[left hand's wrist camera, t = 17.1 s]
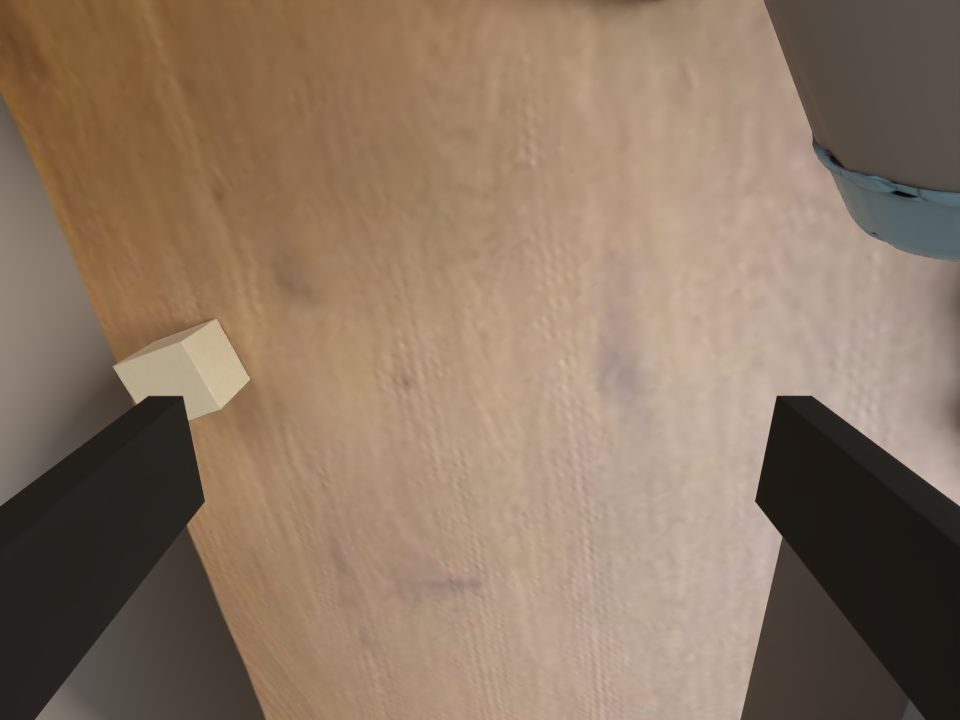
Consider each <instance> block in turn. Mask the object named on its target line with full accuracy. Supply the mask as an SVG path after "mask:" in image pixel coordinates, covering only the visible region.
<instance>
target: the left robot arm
mask: <svg viewBox="0 0 960 720" xmlns="http://www.w3.org/2000/svg"><path fill="white" fill-rule="evenodd" d="M764 3H765V5H766V8H767V10H768V13H769V15H770V18H771V21H772V24H773V26H774V29H775V32H776V34H777V37H778V40H779V43H780V45H781V48H782V51H783V53H784V56H785V59H786V62H787V64H788V67H789V70H790V72H791V75H792V78H793V81H794V83H795V86H796V89H797V91H798V94H799V97H800V100H801V102H802V105H803V108H804V110H805V113H806V116H807V119H808V121H809V124H810V127H811V129H812V135H813V148H814V151H815V153H816V155H817V157H818V159H819V160H820V161H821V162H822V164H823V165H824V166H825V167H826V168H828V169H829V170H830V172H831V174H832V176H833V178H834V180H835V183H836V185H837V187H838V189H839V191H840V194H841V196H842V198H843V200H844V203H845V205H846V207H847V209H848V211H849V213H850V215H851V217H852V218H853V219H854V221H855V222H856V223H857V224H858V225H859V226H860V228H862V229H863V230H864V231H865V232H866V233H868V234H869V235H870V236H872V237H874V238H877V239H879V240H882V241H884V242H888V243H889V244H891V245H893V246H894V247H895V248H896V249H899V250H902V251H904V252H908V253H911V254H915V255H919V256H924V257H930V258H935V259H941V260H949V261H959V262H960V0H764ZM204 502H205V500H204V495H203V490H202V485H201V480H200V476H199V471H198V466H197V461H196V456H195V451H194V446H193V442H192V437H191V432H190V427H189V422H188V417H187V412H186V408H185V403H184V398H183V396H148V397H146V398H145V399H144V400H142V401H141V402H139V403H138V404H137V405H135V406H134V407H133V408H132V409H130V410H129V411H127V412H126V413H125V414H123V415H122V416H121V417H119V418H118V419H117V420H115V421H114V422H113V423H111V424H110V425H109V426H107V427H106V428H105V429H103V430H102V431H101V432H99V433H98V434H97V435H95V436H94V437H93V438H91V439H90V440H89V441H87V442H86V443H85V444H83V445H82V446H81V447H79V448H78V449H77V450H75V451H74V452H73V453H71V454H70V455H68V456H67V457H66V458H65V459H63V460H62V461H60V462H59V463H58V464H57V465H55V466H54V467H52V468H51V469H50V470H48V471H47V472H46V473H44V474H43V475H42V476H40V477H39V478H38V479H36V480H35V481H34V482H32V483H31V484H30V485H28V486H27V487H26V488H24V489H23V490H22V491H20V492H19V493H18V494H16V495H15V496H14V497H12V498H11V499H10V500H8V501H7V502H6V503H4V504H3V505H2V506H0V720H35V719H36V717H37V716H38V715H39V713H40V712H41V711H42V710H43V708H44V707H45V706H46V704H47V703H48V702H49V701H50V699H51V698H52V697H53V695H54V694H55V693H56V692H57V690H58V689H59V688H60V686H61V685H62V684H63V683H64V681H65V680H66V679H67V677H68V676H69V675H70V674H71V672H72V671H73V670H74V669H75V667H76V666H77V665H78V663H79V662H80V661H81V659H82V658H83V657H84V656H85V654H86V653H87V652H88V651H89V649H90V648H91V647H92V645H93V644H94V643H95V642H96V640H97V639H98V638H99V636H100V635H101V634H102V633H103V631H104V630H105V629H106V627H107V626H108V625H109V624H110V622H111V621H112V620H113V618H114V617H115V616H116V615H117V613H118V612H119V611H120V609H121V608H122V607H123V606H124V604H125V603H126V602H127V601H128V599H129V598H130V597H131V595H132V594H133V593H134V592H135V590H136V589H137V588H138V586H139V585H140V584H141V583H142V581H143V580H144V579H145V577H146V576H147V575H148V574H149V572H150V571H151V570H152V568H153V567H154V566H155V565H156V563H157V562H158V561H159V559H160V558H161V557H162V556H163V554H164V553H165V552H166V550H167V549H168V548H169V547H170V545H171V544H172V543H173V542H174V540H175V539H176V538H177V536H178V535H179V534H180V533H181V531H182V530H183V529H184V527H185V526H186V525H187V524H188V522H189V521H190V520H191V518H192V517H193V516H194V515H195V513H196V512H197V511H198V509H199V508H200V507H201V506H202V504H203V503H204ZM755 502H756V503H757V504H758V506H759V507H760V508H761V509H762V511H763V512H764V513H765V515H766V516H767V517H768V518H769V520H770V521H771V522H772V524H773V525H774V526H775V527H776V529H777V530H778V531H779V533H780V534H781V535H782V536H783V538H784V539H785V540H786V542H787V543H788V544H789V545H790V547H791V548H792V549H793V550H794V552H795V553H796V554H797V556H798V557H799V558H800V559H801V561H802V562H803V563H804V565H805V566H806V567H807V568H808V570H809V571H810V572H811V574H812V575H813V576H814V577H815V579H816V580H817V581H818V583H819V584H820V585H821V586H822V588H823V589H824V590H825V592H826V593H827V594H828V595H829V597H830V598H831V599H832V601H833V602H834V603H835V604H836V606H837V607H838V608H839V610H840V611H841V612H842V613H843V615H844V616H845V617H846V618H847V620H848V621H849V622H850V624H851V625H852V626H853V627H854V629H855V630H856V631H857V633H858V634H859V635H860V636H861V638H862V639H863V640H864V642H865V643H866V644H867V645H868V647H869V648H870V649H871V651H872V652H873V653H874V654H875V656H876V657H877V658H878V660H879V661H880V662H881V663H882V665H883V666H884V667H885V669H886V670H887V671H888V672H889V674H890V675H891V676H892V677H893V679H894V680H895V681H896V683H897V684H898V685H899V686H900V688H901V689H902V690H903V692H904V693H905V694H906V695H907V697H908V698H909V699H910V701H911V702H912V703H913V704H914V706H915V707H916V708H917V710H918V711H919V712H920V713H921V715H922V716H923V717H924V719H925V720H960V506H958V505H957V504H956V503H954V502H953V501H952V500H950V499H949V498H948V497H946V496H945V495H944V494H942V493H941V492H940V491H938V490H937V489H936V488H934V487H933V486H932V485H930V484H929V483H928V482H926V481H925V480H924V479H922V478H921V477H920V476H918V475H917V474H916V473H914V472H913V471H912V470H910V469H909V468H908V467H906V466H905V465H904V464H902V463H901V462H900V461H898V460H897V459H896V458H894V457H893V456H892V455H890V454H889V453H887V452H886V451H885V450H883V449H882V448H881V447H879V446H878V445H877V444H875V443H874V442H873V441H871V440H870V439H869V438H867V437H866V436H865V435H863V434H862V433H861V432H859V431H858V430H857V429H855V428H854V427H853V426H851V425H850V424H849V423H847V422H846V421H845V420H843V419H842V418H841V417H839V416H838V415H837V414H835V413H834V412H833V411H831V410H830V409H829V408H827V407H826V406H825V405H823V404H822V403H821V402H819V401H818V400H816V399H815V398H814V397H812V396H777V398H776V403H775V408H774V412H773V417H772V422H771V427H770V432H769V437H768V442H767V446H766V451H765V456H764V461H763V466H762V471H761V475H760V480H759V485H758V490H757V495H756V500H755Z"/></svg>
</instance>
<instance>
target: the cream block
mask: <svg viewBox="0 0 960 720" xmlns="http://www.w3.org/2000/svg"><path fill="white" fill-rule="evenodd" d="M113 368H114V370H115V371H116V373H117V374H118V376H119V377H120V379H121V381H122V382H123V384H124V385H125V387H126V388H127V390H128V391H129V393H130V395H131V396H132V398H133V399H134V401H135V402H136V404H138V403H139V402H141V401H142V400H144V399H145V398H146V397H148V396H183V398H184V403H185V408H186V412H187V417H188V421H189V420H192V419H194V418H197V417H200V416H203V415H206V414H209V413H212V412H214V411H217V410H220V409H222V408H223V407H224V406H225V405H226V404H227V403H228V401H229V400H230V399H231V398H232V397H233V396H234V395H235V394H236V393H237V392H238V391H239V390H240V389H241V388H242V387H243V386H244V385H245V384H246V383H247V382H248V381H249V380H250V378H249V376H248V374H247V373H246V371H245V369H244V367H243V365H242V364H241V362H240V360H239V358H238V356H237V355H236V353H235V351H234V349H233V347H232V346H231V344H230V342H229V340H228V338H227V336H226V335H225V333H224V331H223V329H222V327H221V326H220V324H219V322H218V320H217V319H213V320H210V321H208V322H205V323H202V324H200V325H197V326H194V327H192V328H189V329H186V330H183V331H181V332H178V333H175V334H173V335H170V336H167V337H165V338H162V339H159V340H157V341H154V342H153V343H151V344H149V345H148V346H146V347H144V348H143V349H141V350H139V351H138V352H136V353H134V354H133V355H131V356H129V357H127V358H126V359H124V360H122V361H121V362H119V363H117V364H116V365H114V366H113Z"/></svg>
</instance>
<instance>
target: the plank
mask: <svg viewBox="0 0 960 720" xmlns="http://www.w3.org/2000/svg"><path fill="white" fill-rule="evenodd" d="M741 720H925V719H924V717H923V716H922V715H921V713H920V712H919V711H918V710H917V708H916V707H915V706H914V704H913V703H912V702H911V701H910V699H909V698H908V697H907V695H906V694H905V693H904V692H903V690H902V689H901V688H900V686H899V685H898V684H897V683H896V681H895V680H894V679H893V677H892V676H891V675H890V674H889V672H888V671H887V670H886V669H885V667H884V666H883V665H882V663H881V662H880V661H879V660H878V658H877V657H876V656H875V654H874V653H873V652H872V651H871V649H870V648H869V647H868V645H867V644H866V643H865V642H864V640H863V639H862V638H861V636H860V635H859V634H858V633H857V631H856V630H855V629H854V627H853V626H852V625H851V624H850V622H849V621H848V620H847V618H846V617H845V616H844V615H843V613H842V612H841V611H840V610H839V608H838V607H837V606H836V604H835V603H834V602H833V601H832V599H831V598H830V597H829V595H828V594H827V593H826V592H825V590H824V589H823V588H822V586H821V585H820V584H819V583H818V581H817V580H816V579H815V577H814V576H813V575H812V574H811V572H810V571H809V570H808V568H807V567H806V566H805V565H804V563H803V562H802V561H801V559H800V558H799V557H798V556H797V554H796V553H795V552H794V550H793V549H792V548H791V547H790V545H789V544H788V543H787V542H786V540H785V539H784V538H783V537H782V542H781V546H780V550H779V555H778V559H777V563H776V568H775V572H774V577H773V581H772V585H771V590H770V594H769V598H768V603H767V607H766V611H765V616H764V620H763V624H762V629H761V633H760V638H759V642H758V646H757V651H756V655H755V659H754V664H753V668H752V672H751V677H750V681H749V685H748V690H747V694H746V698H745V703H744V707H743V712H742V716H741Z"/></svg>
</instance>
